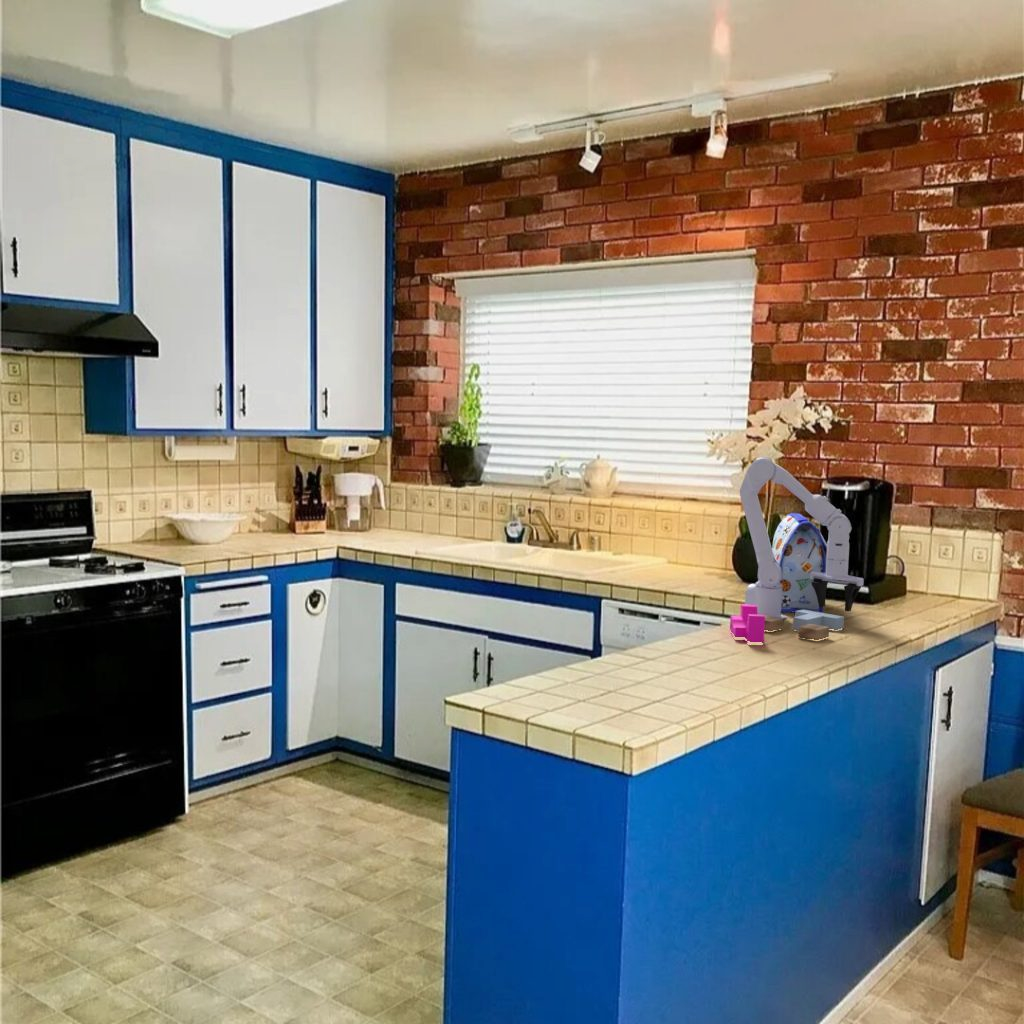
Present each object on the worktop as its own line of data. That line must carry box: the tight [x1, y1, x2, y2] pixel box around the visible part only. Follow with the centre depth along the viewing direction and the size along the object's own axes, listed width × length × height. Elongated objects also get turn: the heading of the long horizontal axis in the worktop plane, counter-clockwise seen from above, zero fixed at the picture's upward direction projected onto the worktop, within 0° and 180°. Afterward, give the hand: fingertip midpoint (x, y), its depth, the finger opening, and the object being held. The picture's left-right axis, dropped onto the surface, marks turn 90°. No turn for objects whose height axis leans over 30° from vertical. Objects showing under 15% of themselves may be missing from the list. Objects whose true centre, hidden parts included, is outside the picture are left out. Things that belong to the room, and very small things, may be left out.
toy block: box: [729, 603, 765, 644], centre depth 258 cm, size 15×6×8 cm, turn 175°
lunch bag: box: [771, 512, 827, 613], centre depth 302 cm, size 23×17×27 cm
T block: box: [792, 609, 845, 632], centre depth 272 cm, size 12×12×4 cm
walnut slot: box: [764, 615, 830, 640], centre depth 265 cm, size 18×6×3 cm, turn 45°
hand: (834, 608), depth 280 cm, fingers open, 7 cm apart
